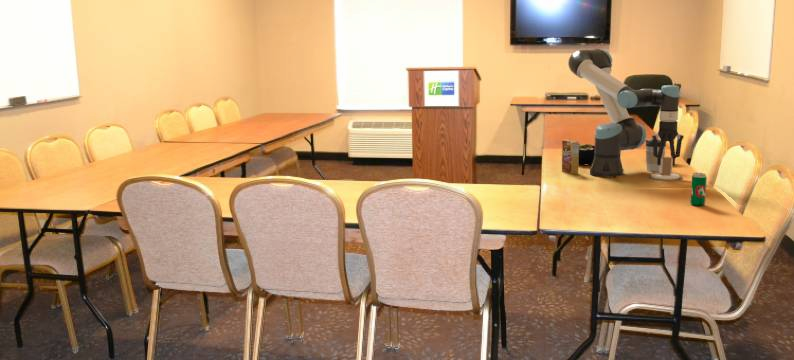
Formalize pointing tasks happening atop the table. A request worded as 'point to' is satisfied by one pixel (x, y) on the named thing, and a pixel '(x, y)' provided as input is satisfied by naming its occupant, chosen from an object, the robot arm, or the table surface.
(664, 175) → the brown block on plate
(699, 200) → the soda can
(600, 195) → the table surface
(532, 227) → the table surface
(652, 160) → the coffee cup
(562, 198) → the table surface
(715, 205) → the table surface
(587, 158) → the black container
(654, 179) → the mat
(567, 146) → the candy box
